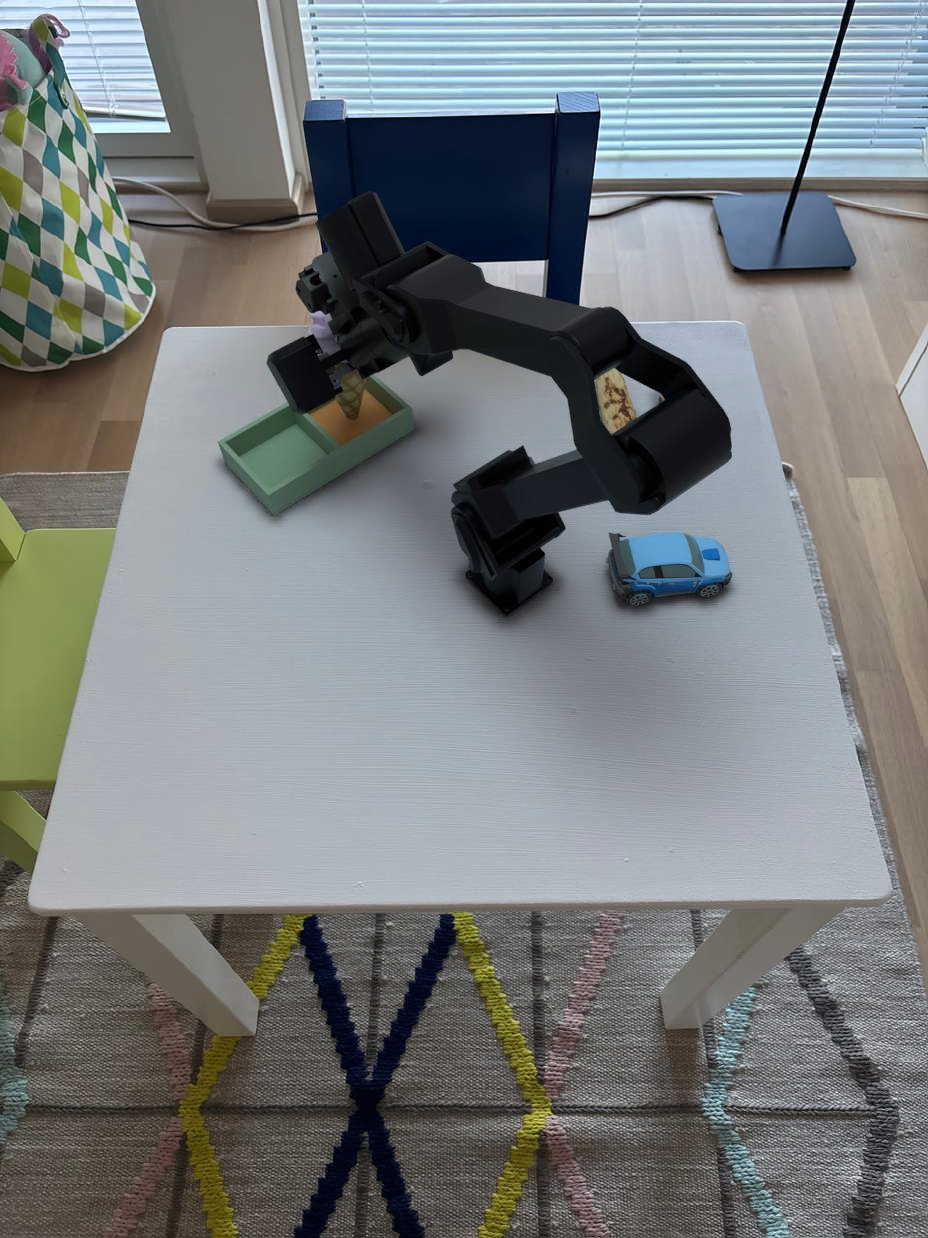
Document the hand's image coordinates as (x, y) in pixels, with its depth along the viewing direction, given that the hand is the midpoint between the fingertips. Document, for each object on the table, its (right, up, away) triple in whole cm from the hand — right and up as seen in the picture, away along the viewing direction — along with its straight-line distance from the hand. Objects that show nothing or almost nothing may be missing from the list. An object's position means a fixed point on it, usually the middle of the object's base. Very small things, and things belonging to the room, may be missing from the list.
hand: (338, 357), depth 96 cm
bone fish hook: (+32, -6, +6) cm, 33 cm away
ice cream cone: (+1, -5, +6) cm, 8 cm away
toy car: (+33, -23, -4) cm, 41 cm away
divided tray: (-3, -8, +6) cm, 10 cm away
